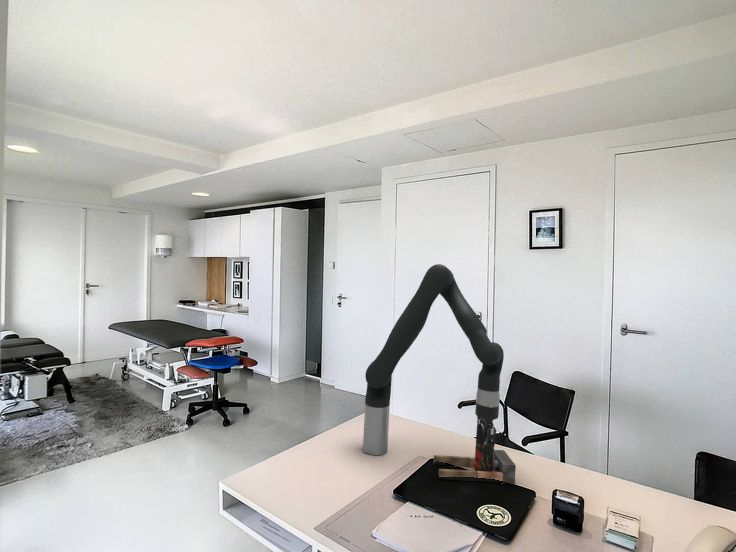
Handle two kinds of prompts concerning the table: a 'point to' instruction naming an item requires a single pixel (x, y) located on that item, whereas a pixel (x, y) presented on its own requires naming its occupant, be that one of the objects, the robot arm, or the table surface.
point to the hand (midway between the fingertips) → (484, 451)
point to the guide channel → (500, 465)
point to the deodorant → (482, 453)
